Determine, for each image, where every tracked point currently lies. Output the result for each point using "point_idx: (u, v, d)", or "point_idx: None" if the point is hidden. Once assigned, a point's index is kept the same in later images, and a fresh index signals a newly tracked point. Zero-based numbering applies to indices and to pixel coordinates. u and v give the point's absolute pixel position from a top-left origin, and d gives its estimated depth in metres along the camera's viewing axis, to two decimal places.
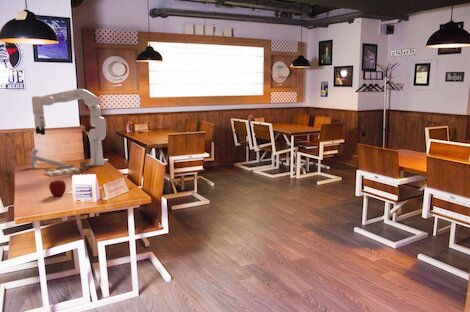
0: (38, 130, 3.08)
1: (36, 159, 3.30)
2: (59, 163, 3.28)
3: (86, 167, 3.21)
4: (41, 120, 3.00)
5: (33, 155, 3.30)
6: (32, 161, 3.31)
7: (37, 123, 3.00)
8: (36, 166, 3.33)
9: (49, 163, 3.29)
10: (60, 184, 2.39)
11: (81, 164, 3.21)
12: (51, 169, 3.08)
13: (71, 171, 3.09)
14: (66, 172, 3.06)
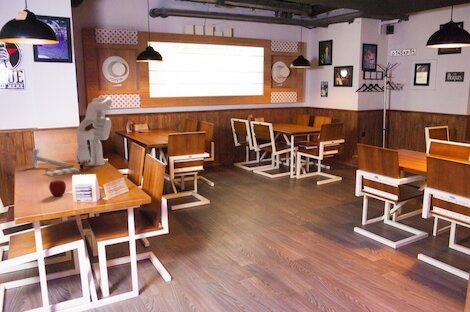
0: None
1: (37, 159, 3.30)
2: (60, 163, 3.28)
3: (86, 167, 3.20)
4: None
5: (34, 155, 3.30)
6: (33, 161, 3.30)
7: (87, 156, 3.21)
8: (37, 166, 3.33)
9: (50, 163, 3.29)
10: (60, 184, 2.39)
11: None
12: (51, 169, 3.08)
13: (71, 171, 3.09)
14: (66, 172, 3.06)
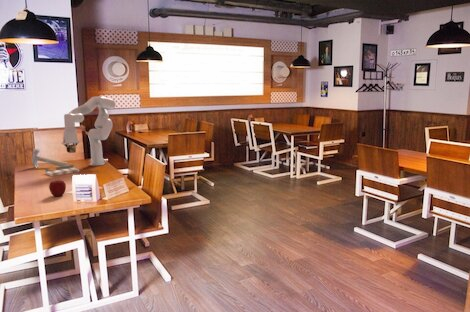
0: None
1: (37, 159, 3.30)
2: (60, 163, 3.28)
3: (73, 150, 3.12)
4: None
5: (34, 155, 3.29)
6: (33, 161, 3.30)
7: (74, 139, 3.12)
8: (37, 166, 3.33)
9: (50, 163, 3.29)
10: (60, 184, 2.39)
11: None
12: (51, 169, 3.08)
13: (71, 171, 3.09)
14: (66, 172, 3.06)
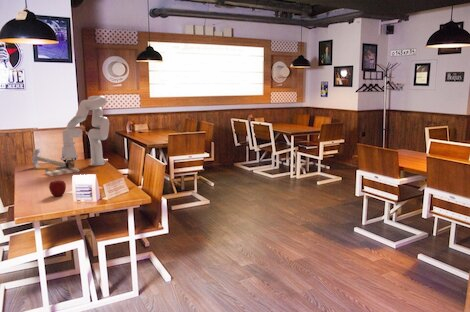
0: None
1: (38, 159, 3.29)
2: (61, 163, 3.28)
3: (72, 165, 3.13)
4: None
5: (35, 155, 3.29)
6: (34, 161, 3.30)
7: (73, 154, 3.13)
8: (38, 166, 3.33)
9: (51, 163, 3.29)
10: (60, 184, 2.39)
11: None
12: (51, 169, 3.08)
13: (71, 171, 3.09)
14: (66, 172, 3.06)
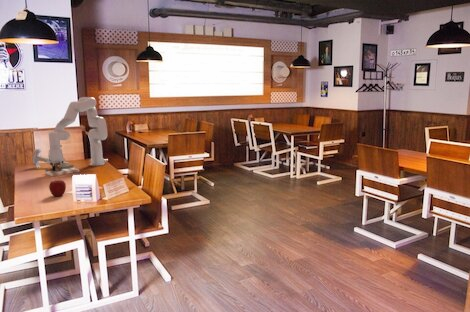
0: None
1: (38, 159, 3.29)
2: (62, 163, 3.28)
3: (59, 168, 3.06)
4: None
5: (35, 155, 3.29)
6: (34, 161, 3.30)
7: (59, 157, 3.06)
8: (38, 166, 3.33)
9: None
10: (60, 184, 2.39)
11: (54, 165, 3.06)
12: (51, 169, 3.08)
13: (71, 171, 3.09)
14: (66, 172, 3.06)
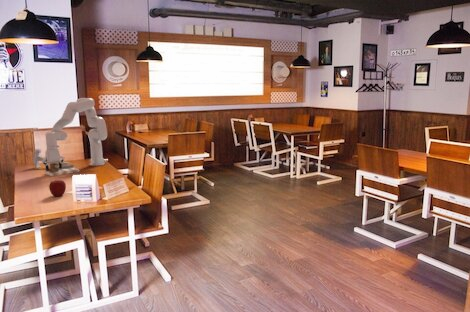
0: None
1: (39, 159, 3.29)
2: (62, 163, 3.28)
3: (56, 169, 3.04)
4: None
5: (36, 155, 3.29)
6: (35, 161, 3.29)
7: (56, 158, 3.04)
8: (39, 166, 3.32)
9: None
10: (60, 184, 2.39)
11: (51, 166, 3.04)
12: None
13: (71, 171, 3.09)
14: (66, 172, 3.06)
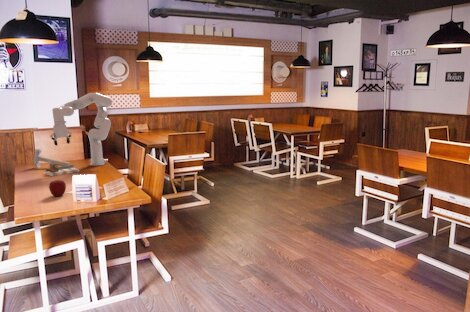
0: None
1: (39, 159, 3.29)
2: (63, 163, 3.28)
3: (56, 169, 3.04)
4: None
5: (36, 155, 3.28)
6: (35, 161, 3.29)
7: (64, 133, 3.10)
8: (39, 166, 3.32)
9: None
10: (60, 184, 2.39)
11: (51, 166, 3.04)
12: None
13: (71, 171, 3.09)
14: (66, 172, 3.06)
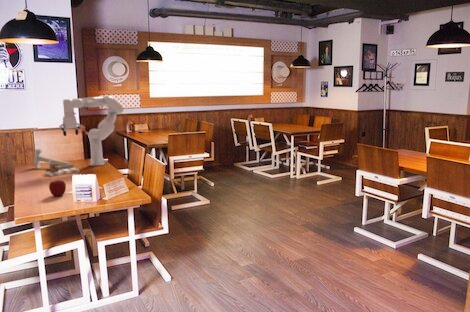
0: None
1: (39, 159, 3.28)
2: (63, 163, 3.28)
3: (56, 169, 3.04)
4: None
5: (36, 155, 3.28)
6: (35, 161, 3.29)
7: (73, 124, 3.19)
8: (39, 166, 3.32)
9: None
10: (60, 184, 2.39)
11: (51, 166, 3.04)
12: None
13: (71, 171, 3.09)
14: (66, 172, 3.06)
